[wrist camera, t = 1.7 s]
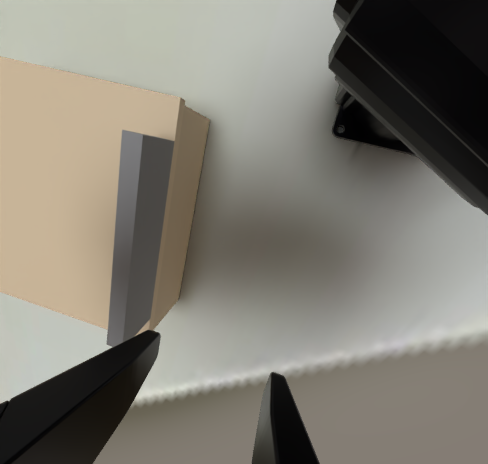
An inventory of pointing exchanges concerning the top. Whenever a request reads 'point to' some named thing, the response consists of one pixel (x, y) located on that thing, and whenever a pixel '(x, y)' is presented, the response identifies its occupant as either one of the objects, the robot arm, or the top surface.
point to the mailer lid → (85, 194)
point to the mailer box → (181, 209)
